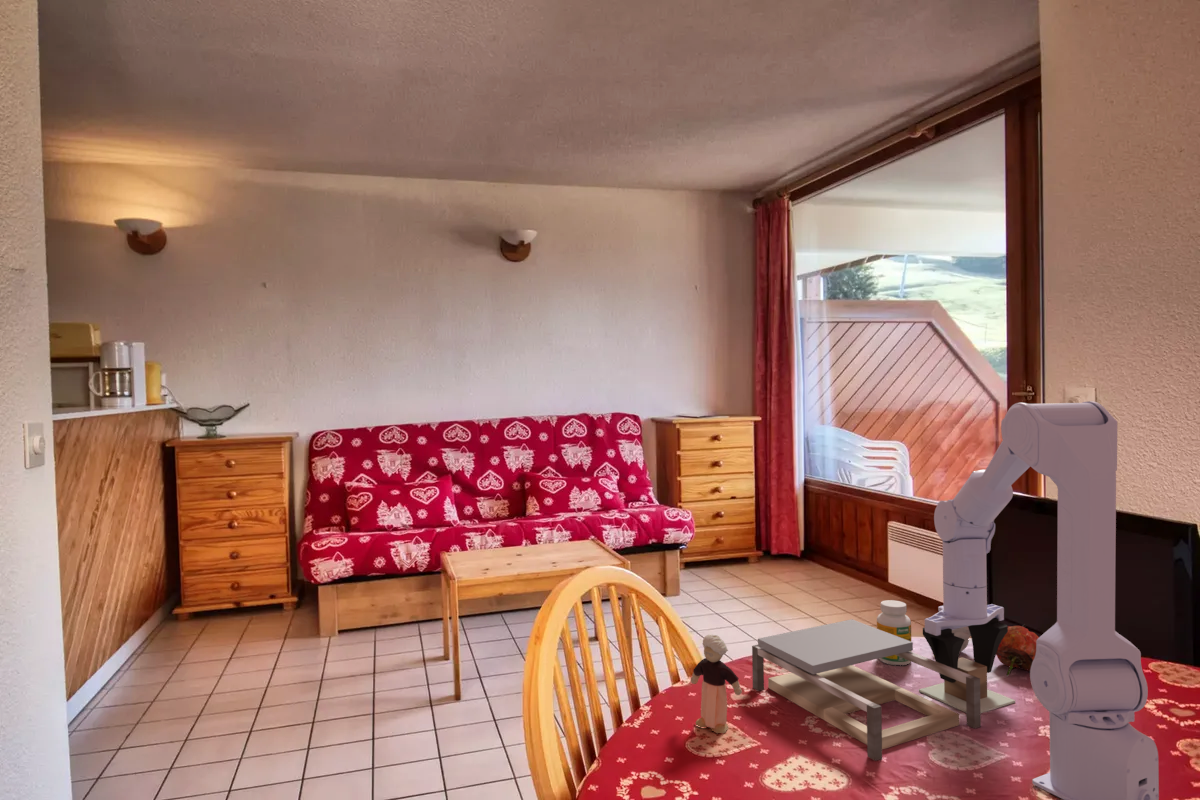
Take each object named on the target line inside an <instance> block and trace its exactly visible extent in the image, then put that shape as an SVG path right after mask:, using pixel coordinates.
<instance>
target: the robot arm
mask: <svg viewBox="0 0 1200 800" xmlns="http://www.w3.org/2000/svg"><path fill="white" fill-rule="evenodd" d="M1000 429H1001V432H1000V433H1001V439H1002V441H1001V443H1000V445H999V446H998V448H997V449H996V451H995V452H994V454H993V455H992V458H991V460H990V462H989V464H988V465H987V467H986V469H979V470H973V471H972V472H971V474H970V475H969V477H968V478H967V480H966V481H965V482H964V484H963V485H962V487H961V488H960V489H959V491H958V492H957V494H956V495H955V496H954V497H953V499H947V500H940V501H939V502H938V503H937V506H936V507H935V509H934V514H933V515H934V516H933V521H934V522H933V523H934V527H935V531H936V533H937V535H938V537H939V538H940V539H941V541H942V587H943V590H942V595H943V596H942V597H943V600H942V601H943V605H940V606H938V607H937V608H938V612H937V613H934V614H933V615H932V616H930V617H927V618H924V626H923V627H922V636H923V637H924V638H925V641H926V642H927V644H928V646H929V648H930V649H931V652H932V654H933V657H934V659H935V660H934V661H936V662H939V663H941V664H944V665H946V666H949V667H951V668H954V669H956V670H957V669H958V658H960V650H961V647H962V645H963V643H964V641H965V640H964V639H962V638H959V637H956V636H954V633H952V630H954V629H958V628H962V627H967V626H968V628H969V631H970V634H971V636H970V638H971V643H972V650H973V651H972V653H973V661H974V662H977V663H979V664H982V665H985V666H987V674H989V673H991V672H992V670H993V667H994V662H995V660H996V657H997V655H996V653H997V650H998V647H999V645H1000V643H1001V641H1002V639H1003V638H1004V636H1005V635H1006V633H1007V632H1008V626H1009V625H1008V624H1005V623H1003V622H1002V621H1004V620H1005V608H1004V607H1003V606H1000V605H996V604H993V603H991V604H988V597H987V595H988V592H987V591H988V589H987V588H988V586H987V585H988V583H987V579H988V577H987V554H988V553H990V551H991V549H992V548H991V546H992V545H991V544H992V540H993V537H994V535H995V533H996V523H995V519H996V518H997V517H998V516H999V514H1001V512H1002V511H1003V510H1004V509H1005V508H1006V506H1007V505H1008V504H1009V503H1010V501H1011V500H1012V499H1013V496H1014V490H1013V487H1012V485H1013V484H1014V483H1016V481H1017V480H1018V479H1020V477H1021V476H1022V475H1023V474H1024V473H1025V472H1026V471H1027V470H1028V469H1029V468H1030V467H1031V468H1032V469H1033V470H1034V471H1035V472H1037V473H1038V474H1041V475H1043V476H1046V477H1049V478H1050V480H1051V481H1052V482H1053V483H1054V484H1055V486H1056V487H1057V546H1056V547H1057V555H1056V556H1057V562H1056V564H1057V565H1056V567H1057V571H1056V576H1057V578H1056V580H1057V581H1056V582H1057V583H1056V585H1057V586H1056V588H1057V589H1056V591H1057V592H1056V593H1057V595H1056V598H1057V599H1056V622H1055V623H1054V624H1052V626H1051V627H1050V628H1048V629H1047V630H1046V631H1045V632H1043V634H1042V635H1040V636H1038V637H1039V638H1038V639H1037V640H1036V655H1035V658H1034V660H1033V662H1032V665H1031V669H1030V671H1029V678H1030V683H1031V687H1032V690H1033V693H1034V695H1035V697H1036V699H1037V700H1038V702H1039V703H1040V704H1041V705H1042V707H1043V708H1045V710H1047V712H1048V713H1049V767H1050V768H1049V772H1048V773H1044V774H1043V775H1040V776H1037V777H1035V778H1032V780H1031V781H1032V784H1033V785H1034V786H1036V787H1038V788H1040V789H1042V790H1044V791H1046V792H1048V793H1049V794H1052V795H1054V796H1055V797H1057V798H1060V799H1061V800H1159V799H1160V793H1159V792H1160V789H1159V788H1160V785H1159V782H1160V781H1159V779H1160V777H1159V776H1160V775H1159V774H1160V773H1159V767H1160V766H1159V750H1158V747H1157V745H1156V742H1155V740H1154V739H1153V738H1152V737H1149V736H1148V735H1146V734H1144V733H1142V732H1141V731H1139V730H1138V729H1137V728H1135V727H1134V726H1133V725H1131V723H1132V722H1133V723H1134V722H1135V720H1136V719H1135V713H1136V712H1139V711H1141V710H1142V709H1143V708H1144V707H1145V705H1146V703H1147V701H1148V696H1149V695H1148V692H1149V691H1148V690H1149V689H1148V682H1147V679H1146V676H1145V674H1144V671H1143V668H1142V661H1141V660H1142V659H1141V658H1142V657H1141V656H1142V653H1141V651H1140V649H1138V647H1136V646H1135V645H1134V644H1133V643H1132V642H1131V641H1129V640H1128V639H1127V638H1126V637H1124V636H1123V635H1122V634H1119V632H1117V631H1116V548H1117V547H1116V546H1117V545H1116V544H1117V543H1116V539H1117V538H1116V537H1117V536H1116V534H1117V532H1116V531H1117V528H1116V527H1117V524H1116V523H1117V520H1116V519H1117V474H1116V473H1117V472H1116V471H1118V421H1117V419H1115V417H1114V416H1113V415H1112V414H1111V413H1110V412H1109V411H1108V410H1107V409H1106V408H1105V407H1104V406H1103V405H1102V404H1100V403H1099V402H1097V401H1093V400H1091V401H1090V400H1089V401H1082V402H1061V403H1060V402H1057V403H1053V402H1052V403H1051V402H1050V403H1027V402H1016V403H1014V404H1012V405H1011V406H1010V407H1009V408H1008V410H1007V412H1006V414H1005V416H1004V417H1003V419H1001V423H1000ZM1000 621H1001V622H1000ZM938 674H939V677H940V679H941V680H943V681H944V680H946V681H948V682H951V683H954V682H956V680H955V679H953V678H950V677H948V676H945V675H943V674H940V673H938Z"/></svg>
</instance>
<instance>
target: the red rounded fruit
mask: <svg viewBox="0 0 1200 800" xmlns="http://www.w3.org/2000/svg"><path fill="white" fill-rule="evenodd" d="M1007 626H1008V632H1007V633H1006V635H1005V636H1004V638H1003V639H1002V641H1001V643H1000V645H999V647H998V650H997V653H996V657H997V660H998V661H999V662H1000V663H1001V664H1003V665H1004V666H1006V667H1009V666H1010V667H1009V668H1008V670H1007V673H1006V676H1007V677H1009V675H1010V674H1011V671H1012V670H1013V669H1014V668H1015V667H1016V669H1021V670H1024V671H1029V672H1030V669H1031V665H1032V662H1033V660H1034V658H1035V655H1036V640H1037V639H1038V638H1039V637H1040V636H1038V635H1037V634H1036V633H1035V632H1033V631H1029V629H1028V628H1026V627H1027V626H1026V624H1025V623H1024V624H1022V625H1013V626H1010V625H1007Z"/></svg>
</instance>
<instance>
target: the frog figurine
mask: <svg viewBox="0 0 1200 800" xmlns="http://www.w3.org/2000/svg"><path fill="white" fill-rule="evenodd" d="M952 633H954V636H956V637H959V638H962V639H964V640H965V641H964V643H963V645H962V647H961V650H960V652H962V651H965V650H966V648H967V647H968V646H969V641H970V638H971V634H970V631H969V628H968V626H967V627H962V628H958V629H954V630H952ZM968 639H969V640H968Z"/></svg>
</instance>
